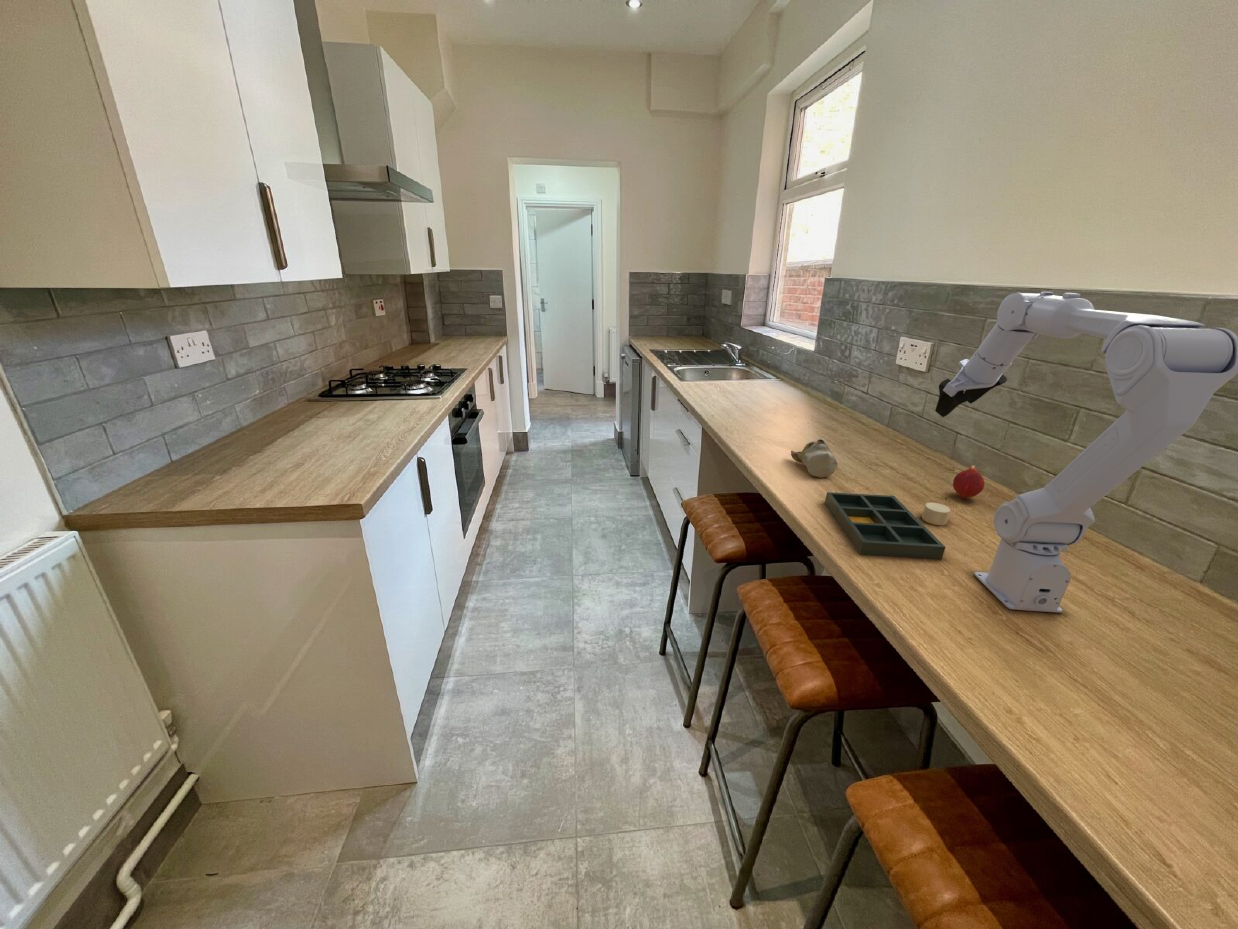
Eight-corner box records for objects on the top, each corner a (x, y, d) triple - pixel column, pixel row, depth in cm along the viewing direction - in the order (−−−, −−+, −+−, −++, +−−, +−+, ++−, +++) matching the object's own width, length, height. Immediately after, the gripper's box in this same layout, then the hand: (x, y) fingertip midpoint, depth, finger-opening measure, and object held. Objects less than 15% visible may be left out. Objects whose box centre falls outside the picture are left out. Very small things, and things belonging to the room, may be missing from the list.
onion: (983, 505, 109) (994, 472, 106) (955, 502, 110) (965, 469, 107) (971, 494, 115) (982, 462, 112) (944, 491, 116) (954, 460, 113)
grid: (941, 559, 88) (945, 547, 87) (860, 554, 89) (862, 542, 88) (891, 506, 108) (894, 495, 107) (824, 502, 109) (826, 492, 108)
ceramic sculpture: (806, 446, 117) (791, 430, 131) (800, 479, 120) (787, 460, 134) (852, 448, 116) (832, 432, 130) (845, 482, 119) (827, 463, 133)
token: (951, 526, 100) (955, 513, 99) (928, 524, 100) (932, 511, 99) (939, 515, 104) (943, 503, 103) (917, 514, 105) (921, 501, 103)
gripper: (1003, 329, 91) (963, 381, 102) (947, 354, 87) (911, 406, 98) (1038, 351, 87) (992, 403, 98) (980, 379, 83) (939, 430, 94)
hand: (954, 406), depth 98 cm, fingers open, 7 cm apart
